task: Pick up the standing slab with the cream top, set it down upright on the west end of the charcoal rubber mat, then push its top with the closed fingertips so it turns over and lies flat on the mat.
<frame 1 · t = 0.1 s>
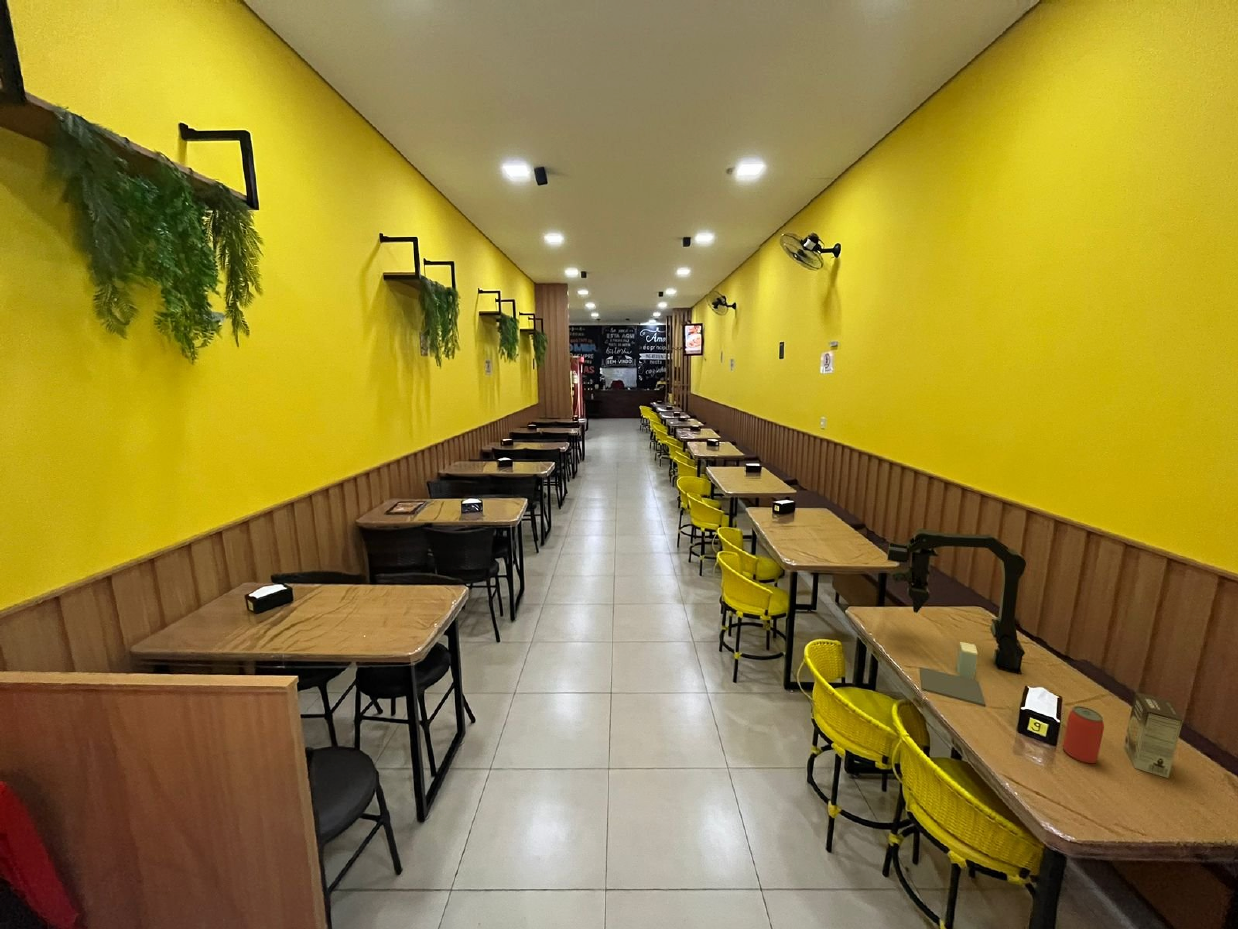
hand: (914, 607, 176), 15 cm above the table, fingers open, 9 cm apart
slab: (964, 672, 162), on the table
beer can: (1079, 755, 127), on the table
mat: (950, 686, 154), on the table
coffee box: (1145, 762, 125), on the table
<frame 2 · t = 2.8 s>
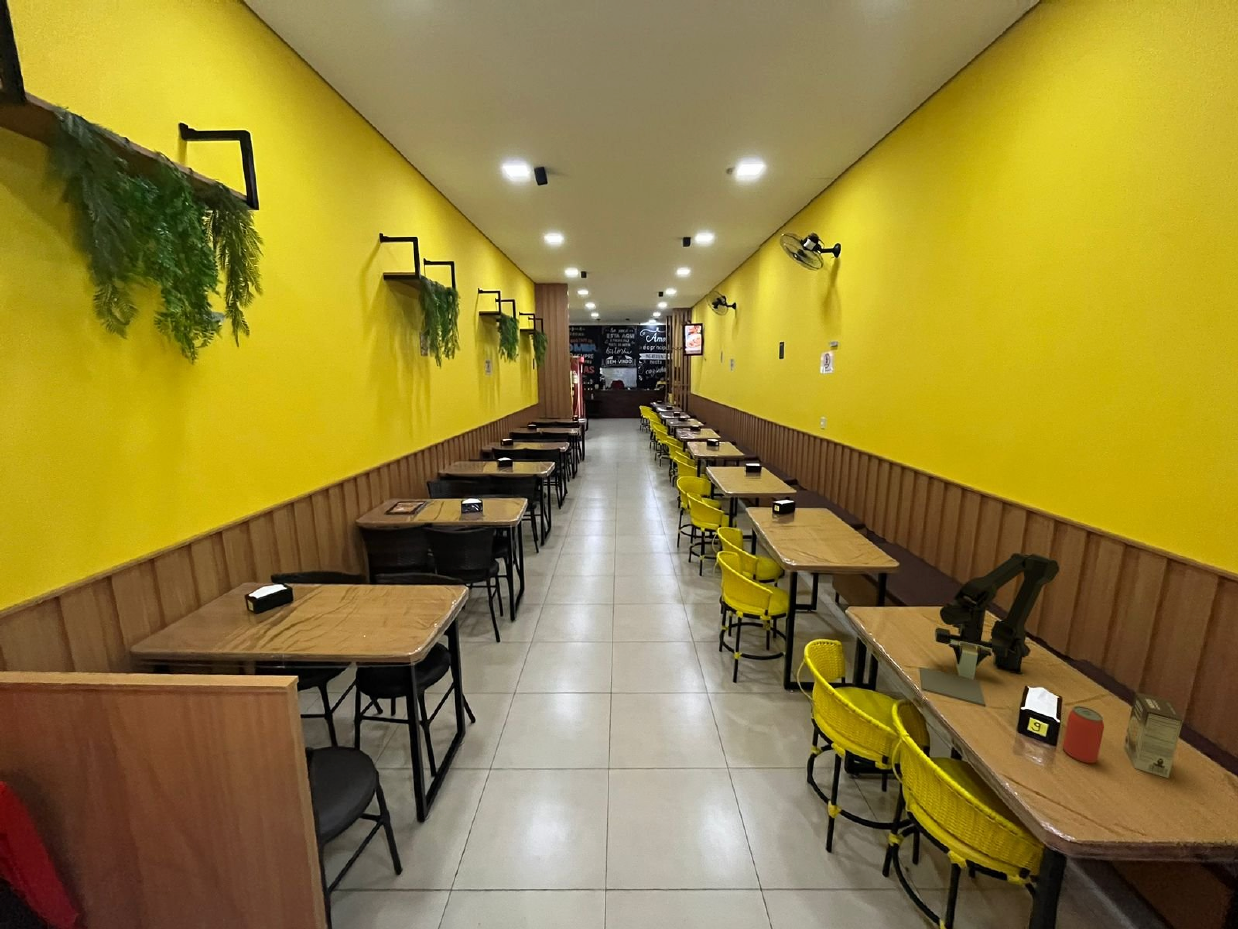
hand: (966, 665, 161), 3 cm above the table, fingers closed on slab, 4 cm apart
slab: (965, 672, 162), on the table, touching gripper
everything else where it was.
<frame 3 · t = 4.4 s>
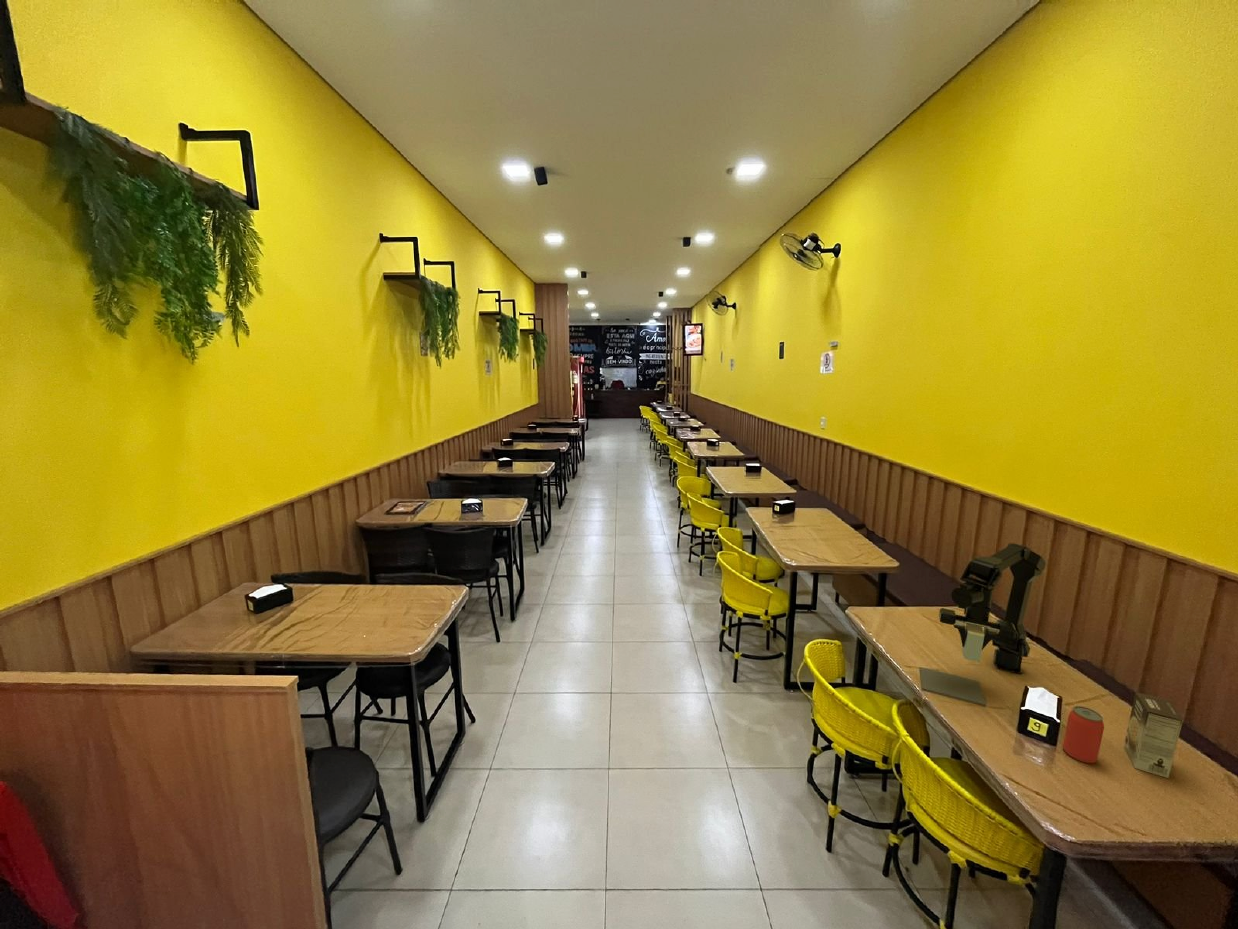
hand: (971, 648, 152), 13 cm above the table, fingers closed on slab, 4 cm apart
slab: (970, 655, 153), point 10 cm above the table, touching gripper
everything else where it was.
when the fingers open (4 cm above the table, at t = 6.5 s): slab drops 1 cm, resting on mat.
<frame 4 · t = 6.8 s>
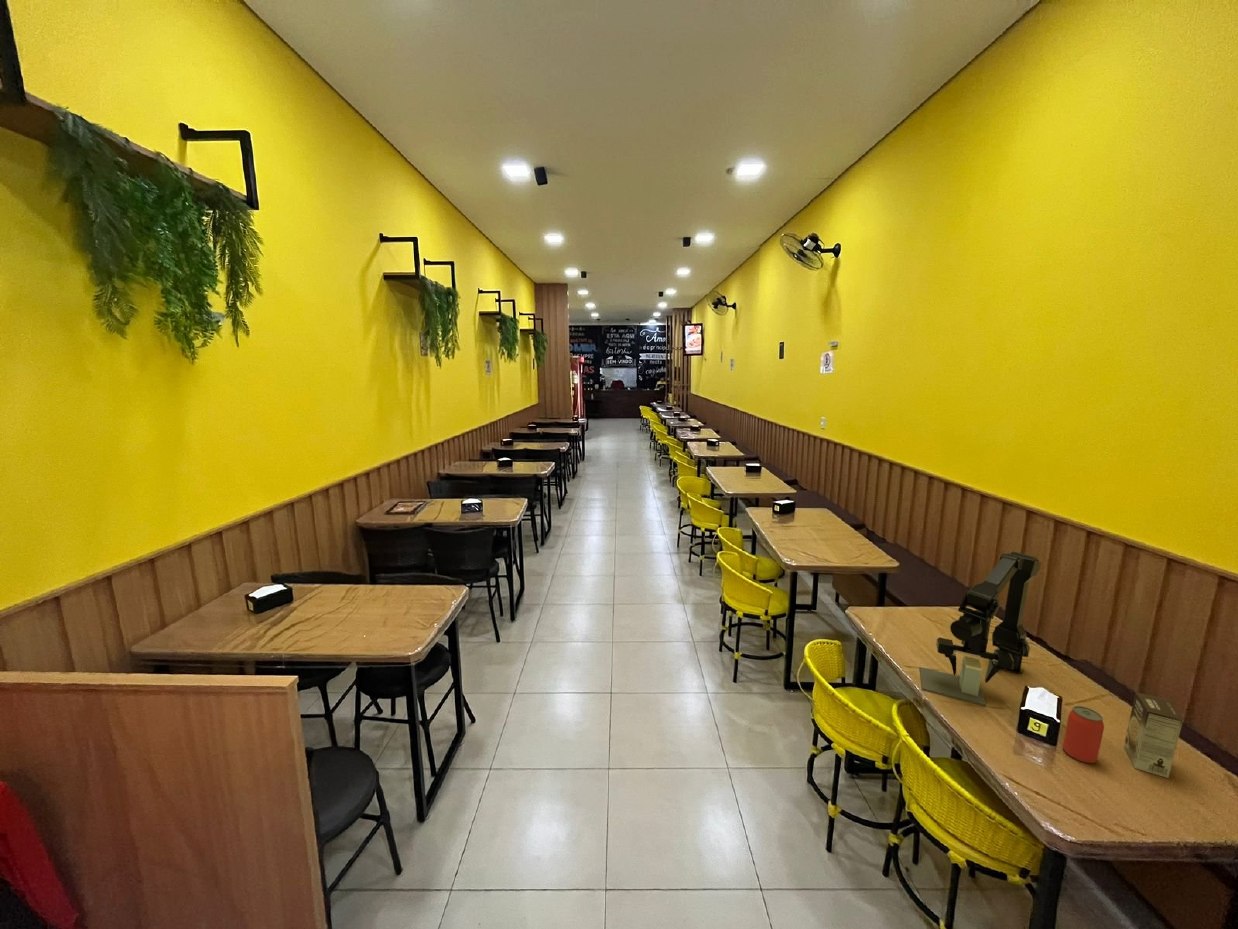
hand: (969, 678, 152), 4 cm above the table, fingers open, 8 cm apart
slab: (968, 688, 152), point 1 cm above the table, touching mat
everything else where it was.
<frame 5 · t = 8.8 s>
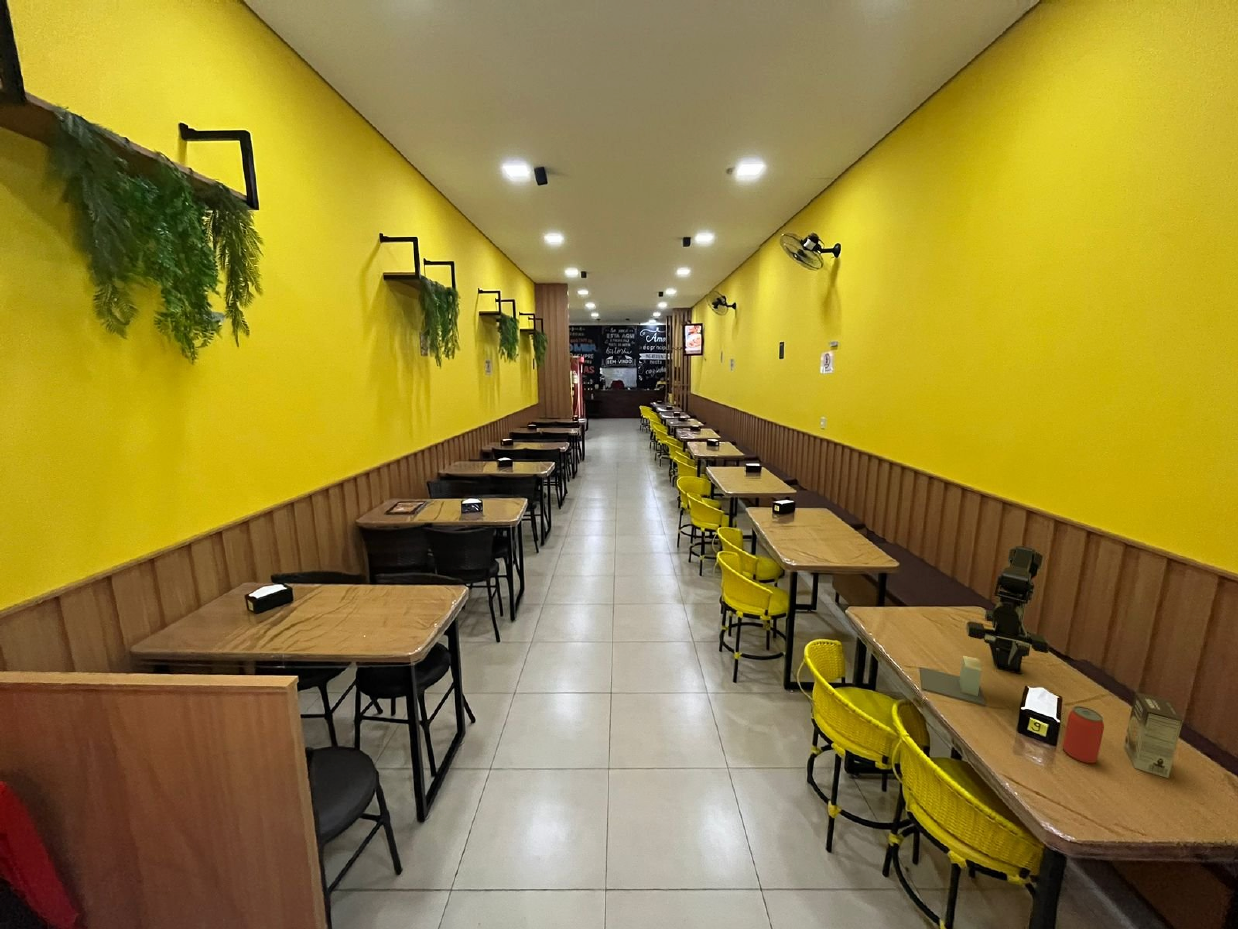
hand: (1001, 662, 147), 11 cm above the table, fingers open, 3 cm apart
nothing on the table moved.
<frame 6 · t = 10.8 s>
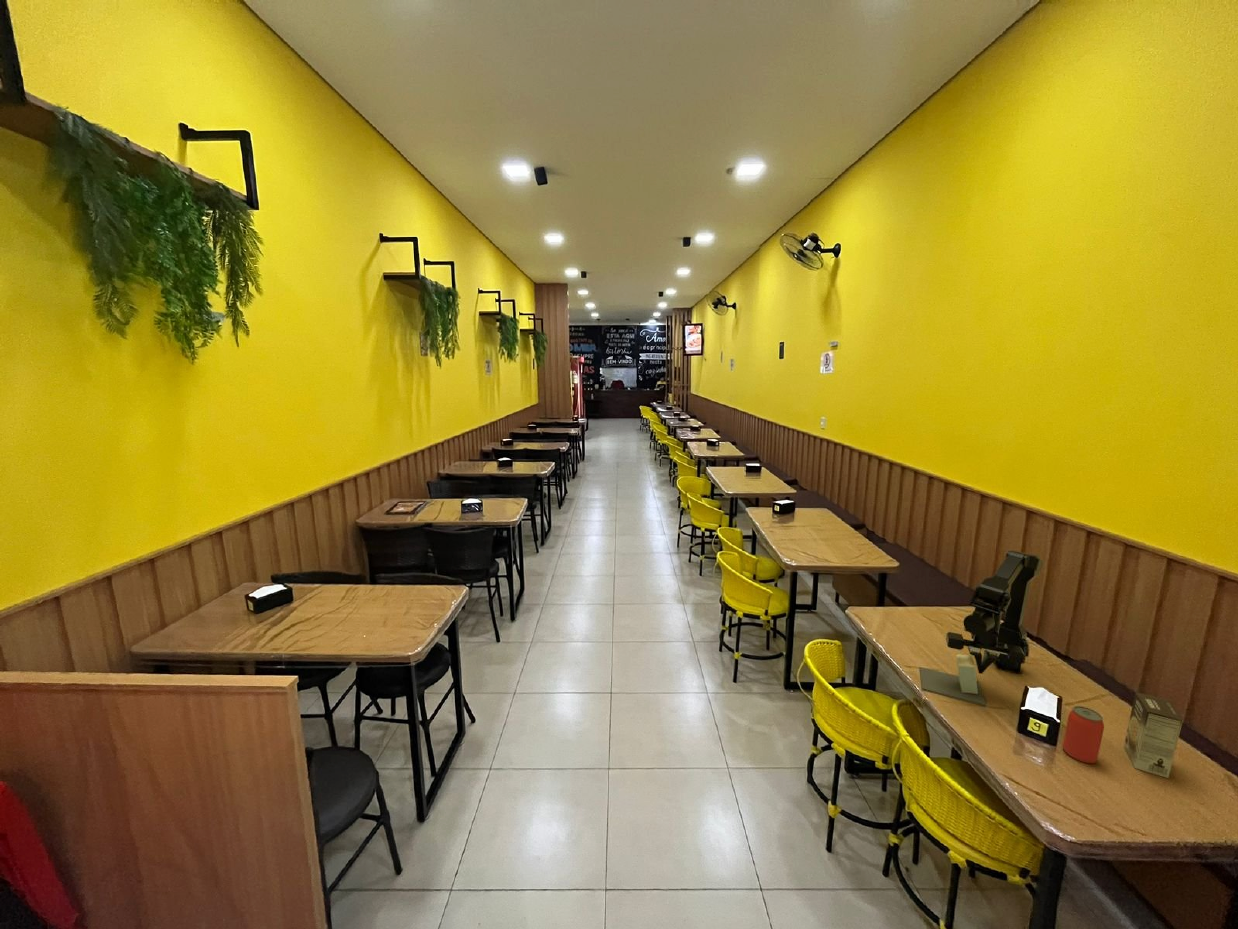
hand: (980, 673, 150), 7 cm above the table, fingers closed
slab: (968, 687, 152), point 1 cm above the table, tilted 12°, touching mat
everything else where it was.
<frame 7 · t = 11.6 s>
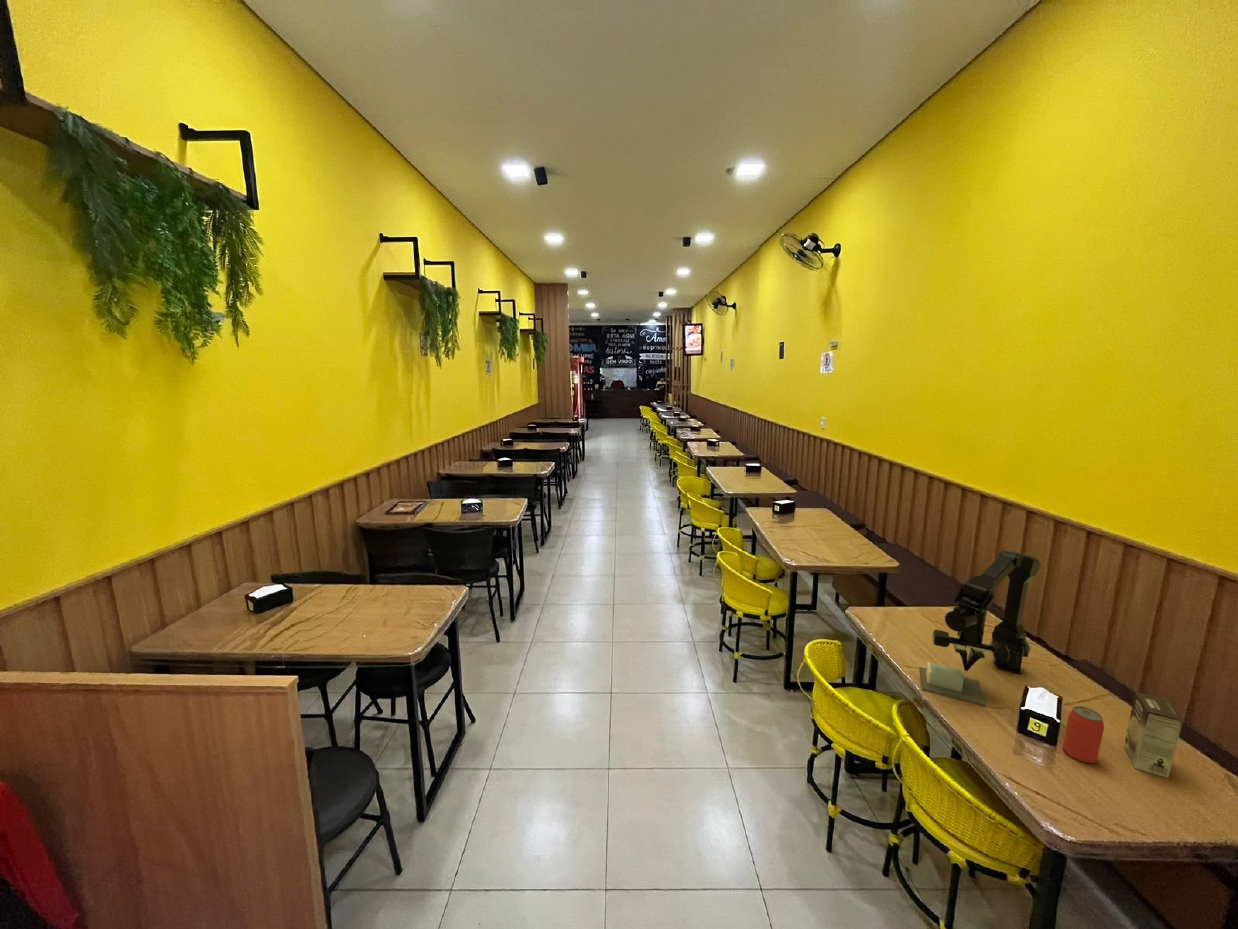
hand: (965, 670, 152), 7 cm above the table, fingers closed
slab: (961, 681, 153), point 3 cm above the table, tilted 90°, touching mat
everything else where it was.
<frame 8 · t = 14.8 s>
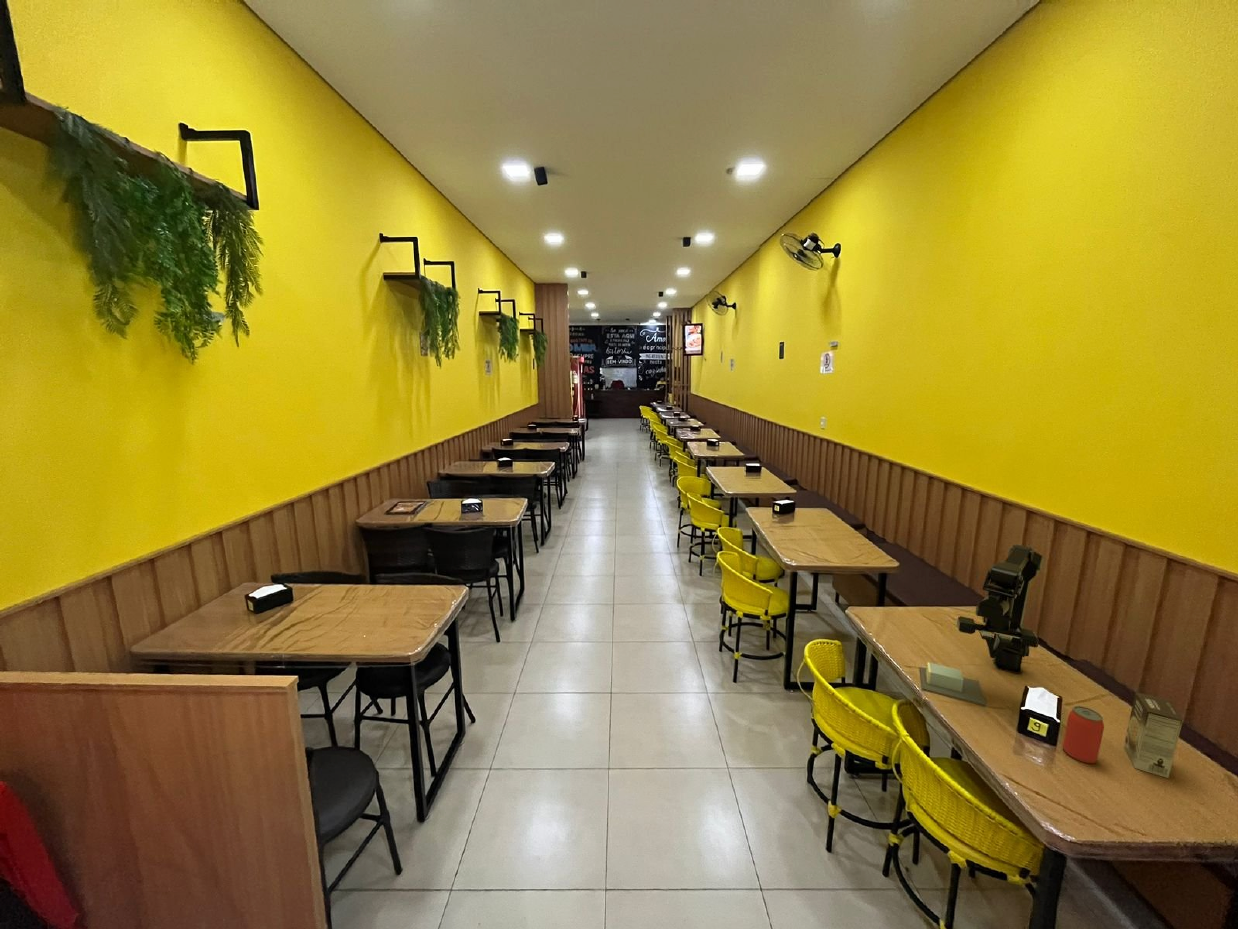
hand: (991, 657, 148), 12 cm above the table, fingers closed
nothing on the table moved.
at the end: slab tilted 90°; slab inside the target area on the mat (2.5 cm from its centre), point 2.6 cm above the mat's base; the gripper is holding nothing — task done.
